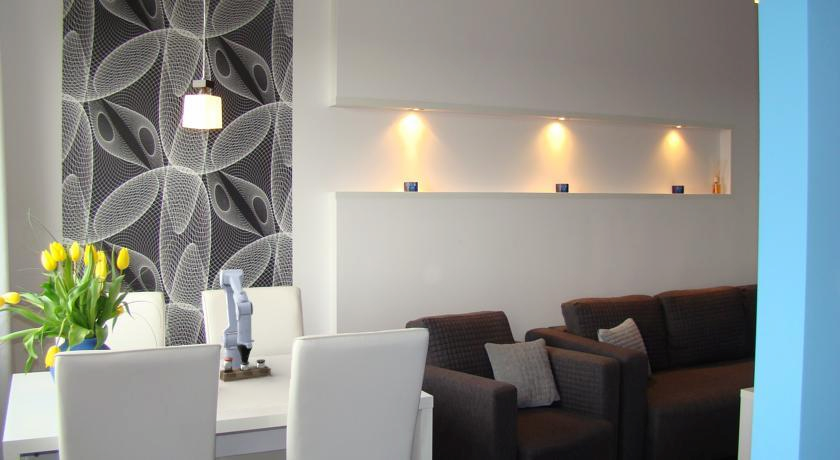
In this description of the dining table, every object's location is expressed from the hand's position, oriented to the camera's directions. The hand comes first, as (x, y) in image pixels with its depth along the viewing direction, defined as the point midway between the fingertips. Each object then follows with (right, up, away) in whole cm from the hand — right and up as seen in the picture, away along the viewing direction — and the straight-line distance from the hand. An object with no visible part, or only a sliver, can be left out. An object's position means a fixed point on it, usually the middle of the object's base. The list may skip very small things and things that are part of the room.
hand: (244, 362), depth 309 cm
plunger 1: (0, -6, 0) cm, 6 cm away
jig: (0, -6, 0) cm, 6 cm away
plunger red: (-6, -3, -3) cm, 8 cm away
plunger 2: (+6, -5, +4) cm, 9 cm away
